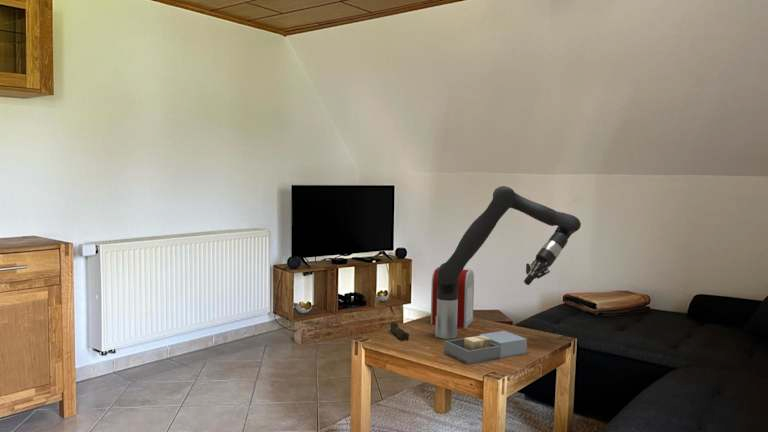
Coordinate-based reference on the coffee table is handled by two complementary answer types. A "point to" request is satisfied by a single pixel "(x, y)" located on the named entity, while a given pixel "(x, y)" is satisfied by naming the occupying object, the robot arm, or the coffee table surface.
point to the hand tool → (399, 331)
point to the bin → (471, 352)
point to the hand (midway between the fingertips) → (526, 283)
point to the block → (476, 342)
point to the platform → (508, 343)
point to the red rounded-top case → (463, 297)
